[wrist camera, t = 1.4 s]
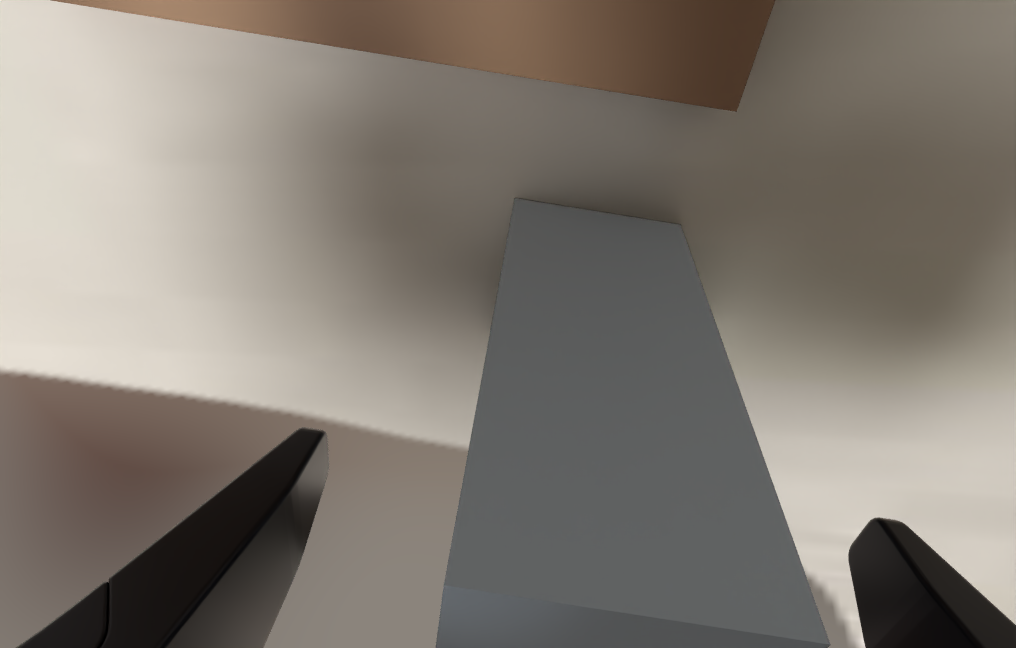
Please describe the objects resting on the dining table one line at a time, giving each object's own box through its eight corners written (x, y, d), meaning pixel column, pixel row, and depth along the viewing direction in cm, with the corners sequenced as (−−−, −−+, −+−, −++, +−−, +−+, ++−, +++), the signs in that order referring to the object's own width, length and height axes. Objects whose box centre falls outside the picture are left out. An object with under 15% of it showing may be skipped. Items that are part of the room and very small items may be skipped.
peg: (680, 224, 14) (830, 644, 6) (637, 355, 17) (705, 789, 8) (514, 198, 14) (444, 584, 6) (494, 333, 17) (422, 746, 8)
